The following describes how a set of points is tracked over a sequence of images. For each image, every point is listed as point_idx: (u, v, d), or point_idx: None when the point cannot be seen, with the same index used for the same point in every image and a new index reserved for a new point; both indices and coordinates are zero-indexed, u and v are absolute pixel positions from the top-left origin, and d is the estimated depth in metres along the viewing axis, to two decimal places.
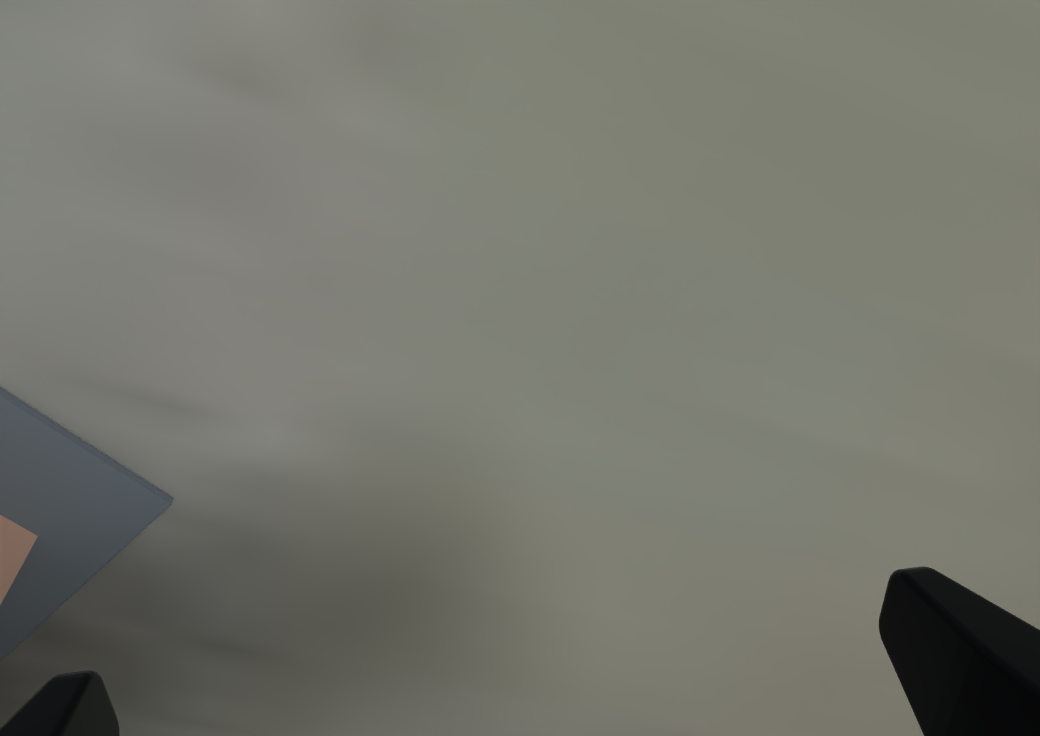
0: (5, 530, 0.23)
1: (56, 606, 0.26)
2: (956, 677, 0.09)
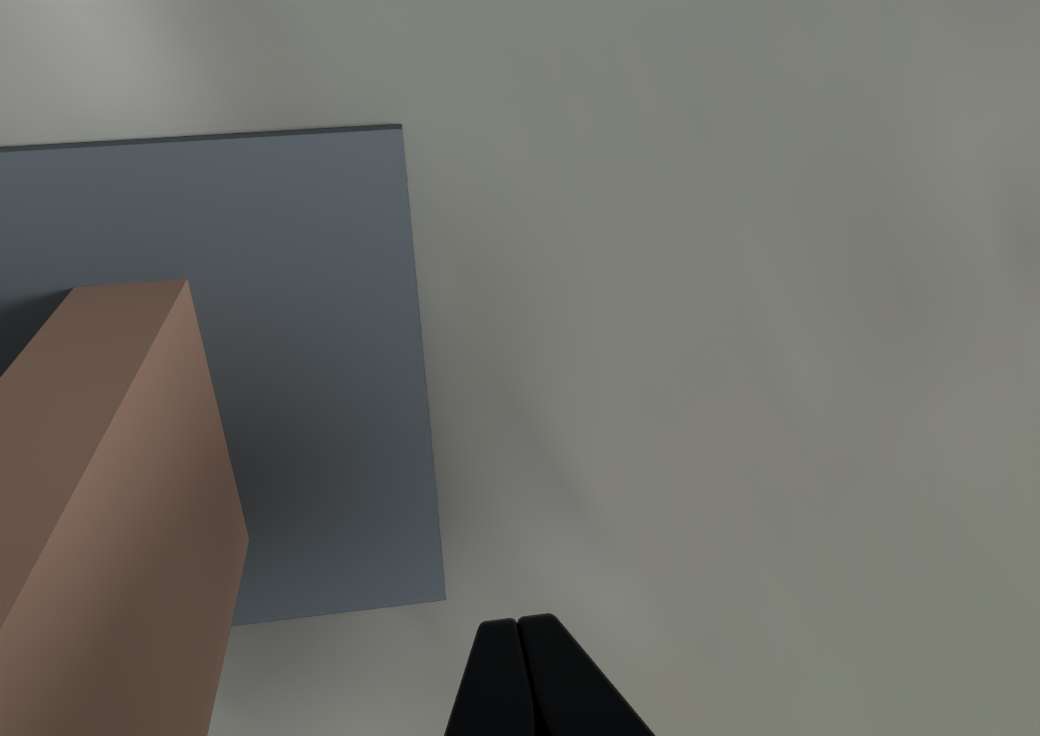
0: (236, 517, 0.14)
1: None
2: None
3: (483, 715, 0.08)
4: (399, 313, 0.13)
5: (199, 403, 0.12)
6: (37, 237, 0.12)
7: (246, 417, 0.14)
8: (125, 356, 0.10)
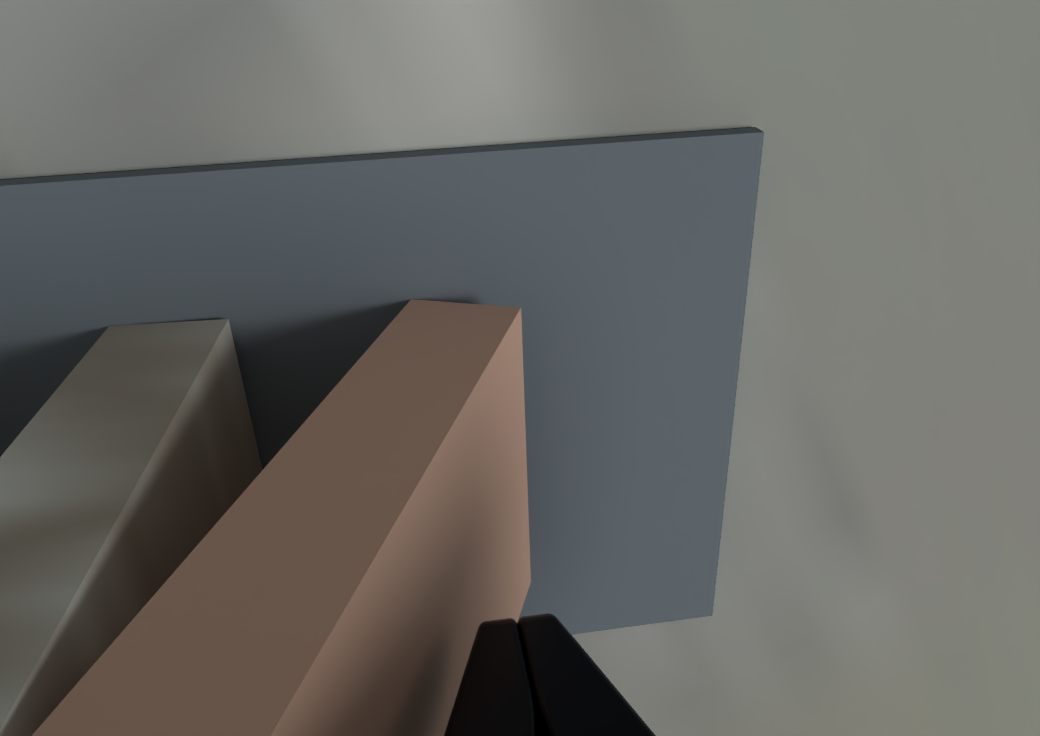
0: (523, 560, 0.13)
1: None
2: None
3: (483, 715, 0.08)
4: (724, 323, 0.13)
5: (509, 442, 0.11)
6: (385, 248, 0.11)
7: (554, 431, 0.13)
8: (446, 394, 0.09)
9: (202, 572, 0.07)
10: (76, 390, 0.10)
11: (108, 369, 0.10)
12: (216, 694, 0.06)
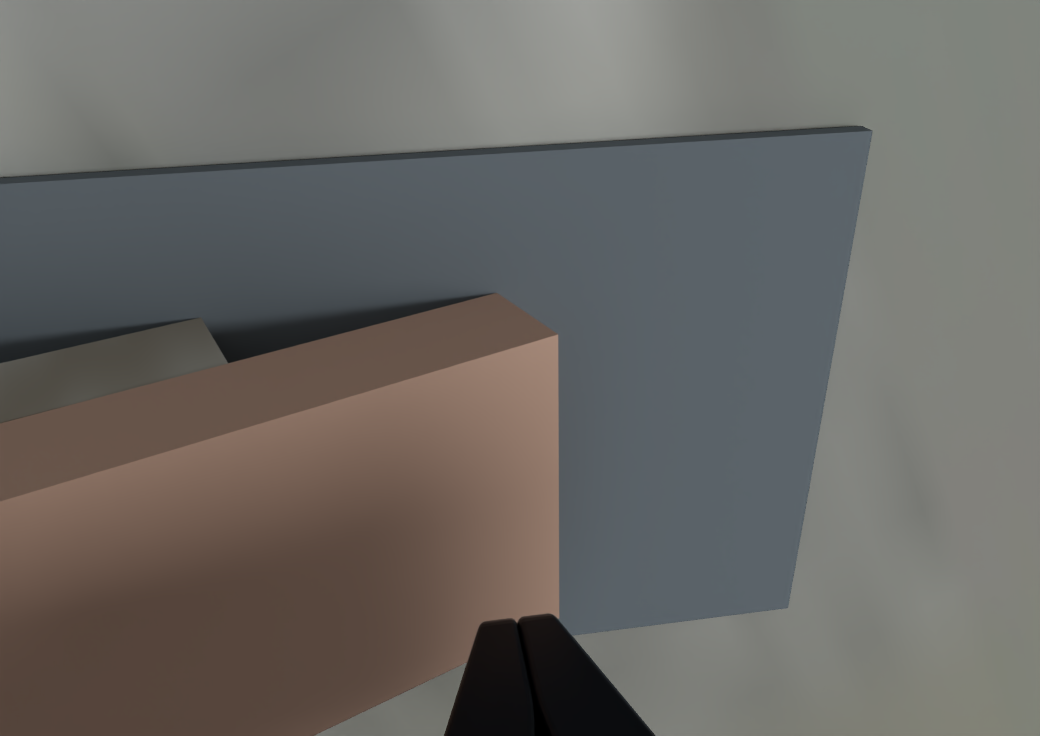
0: (535, 588, 0.13)
1: None
2: None
3: (483, 715, 0.08)
4: (820, 318, 0.13)
5: (505, 461, 0.11)
6: (501, 241, 0.12)
7: (649, 423, 0.13)
8: (373, 377, 0.10)
9: (72, 413, 0.09)
10: (60, 357, 0.11)
11: (103, 354, 0.11)
12: None
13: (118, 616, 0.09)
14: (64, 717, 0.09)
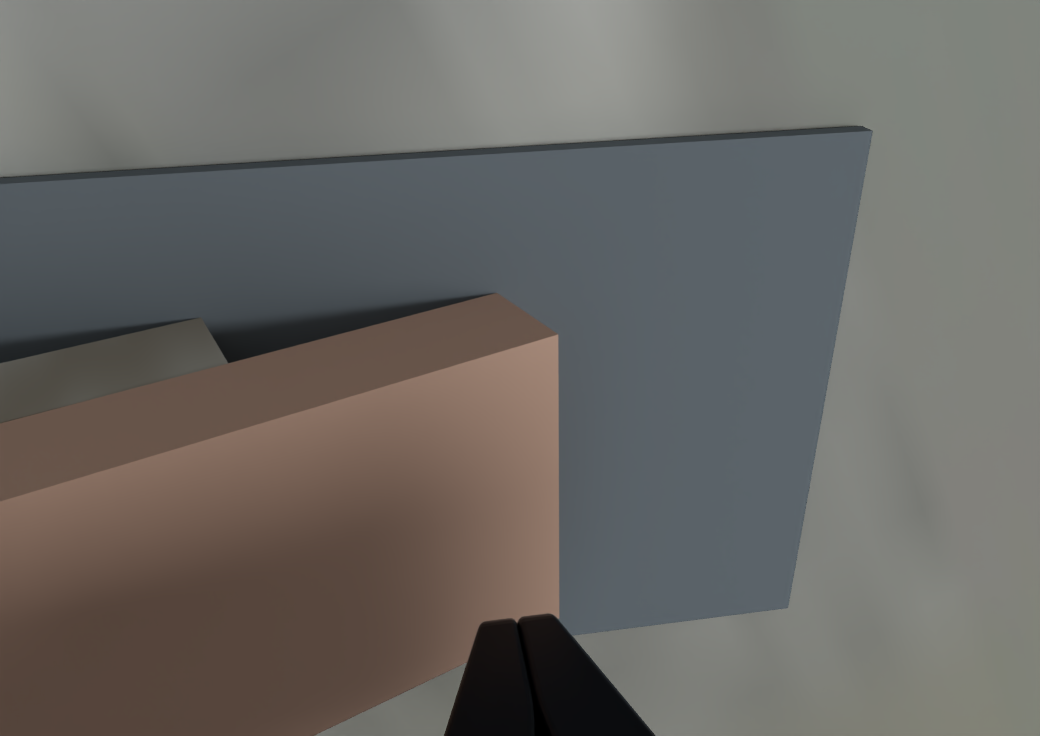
0: (535, 588, 0.13)
1: None
2: None
3: (483, 715, 0.08)
4: (820, 318, 0.13)
5: (505, 461, 0.11)
6: (501, 241, 0.12)
7: (650, 423, 0.13)
8: (373, 377, 0.10)
9: (73, 413, 0.09)
10: (60, 357, 0.11)
11: (103, 354, 0.11)
12: None
13: (118, 616, 0.09)
14: (65, 717, 0.09)
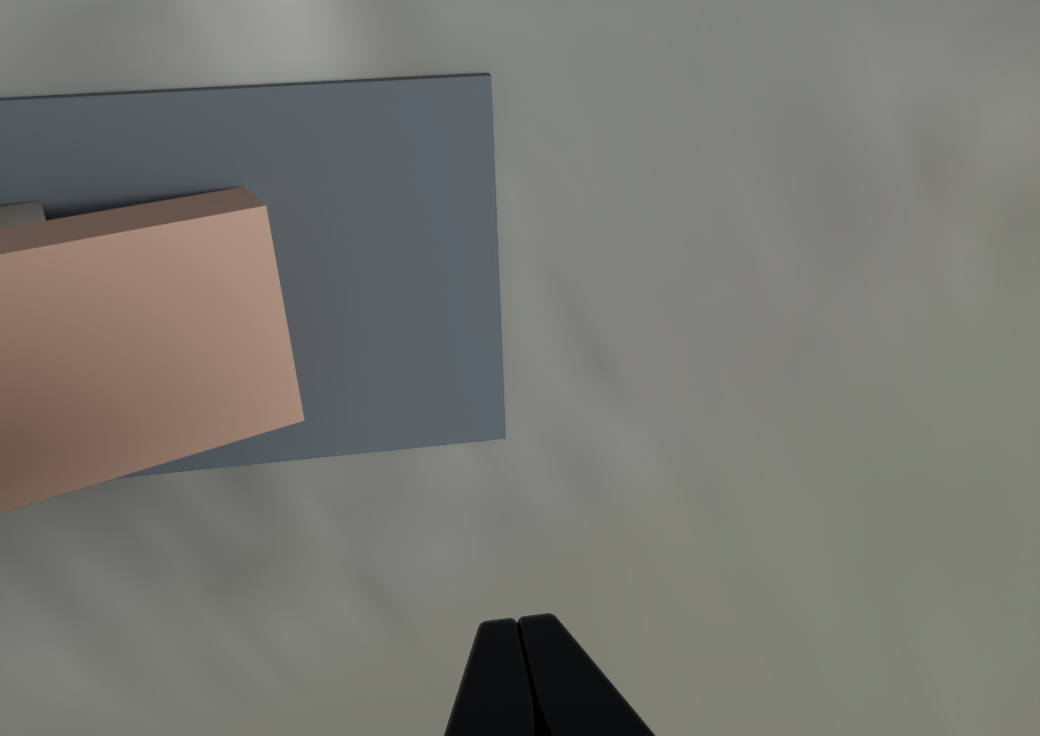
0: (279, 393, 0.18)
1: (295, 457, 0.21)
2: None
3: (483, 715, 0.08)
4: (482, 209, 0.19)
5: (238, 292, 0.17)
6: (242, 149, 0.17)
7: (371, 286, 0.19)
8: (133, 225, 0.16)
9: None
10: None
11: None
12: None
13: None
14: None
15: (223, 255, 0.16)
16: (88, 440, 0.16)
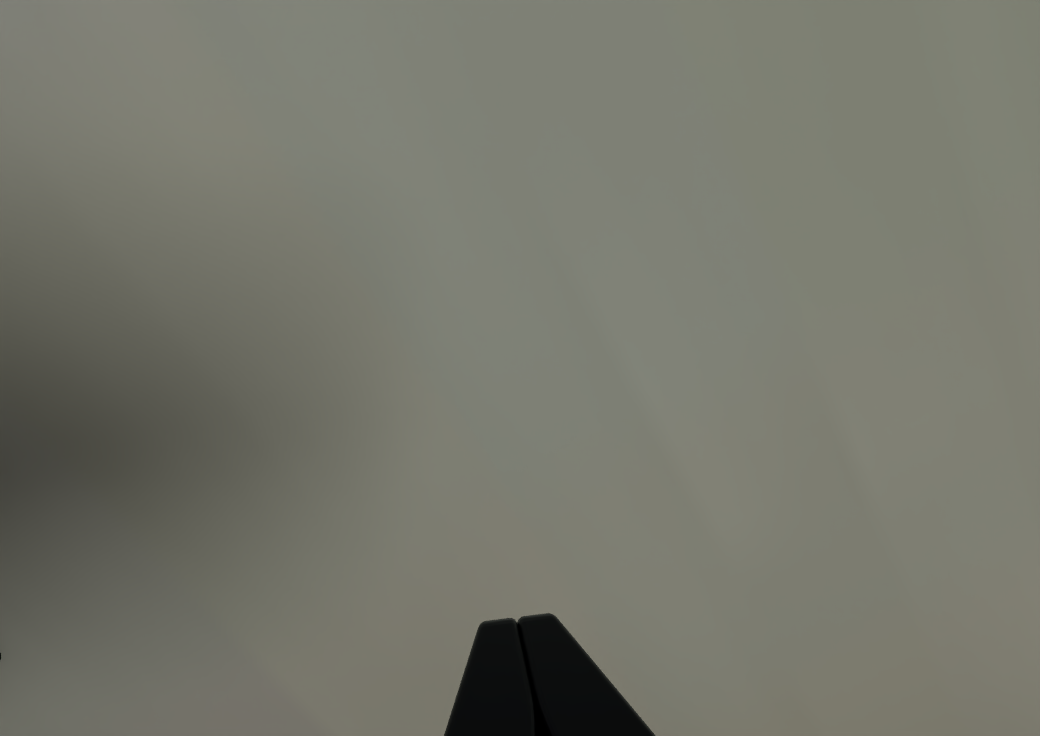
0: None
1: None
2: None
3: (483, 715, 0.08)
4: None
5: None
6: None
7: None
8: None
9: None
10: None
11: None
12: None
13: None
14: None
15: None
16: None
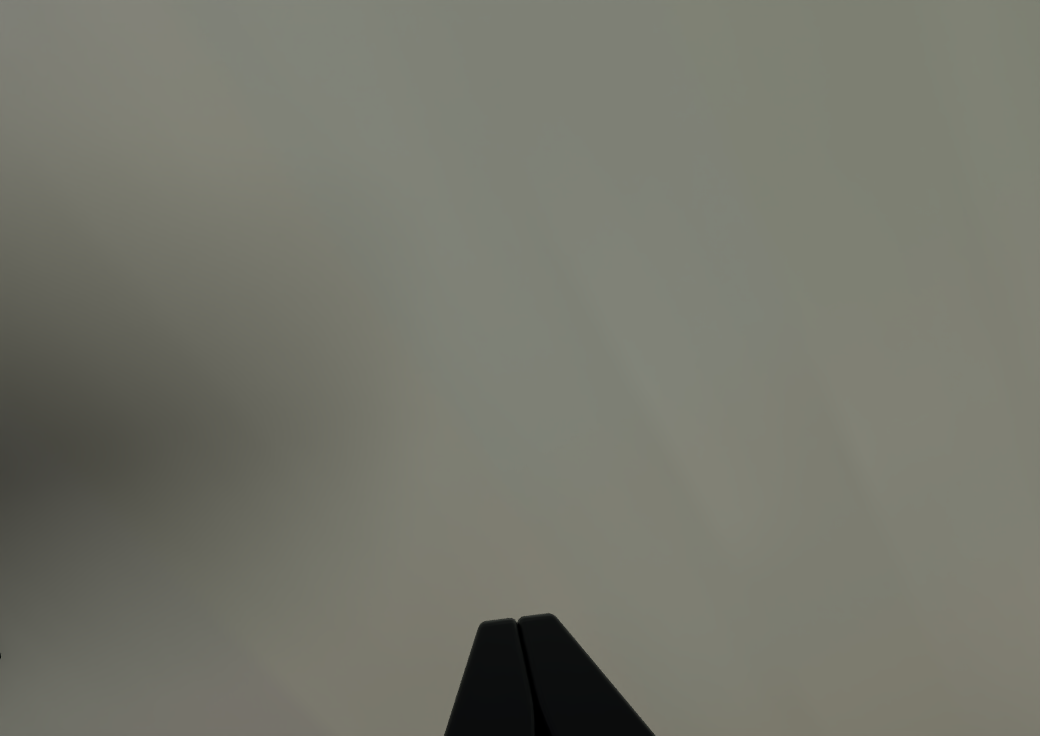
0: None
1: None
2: None
3: (483, 715, 0.08)
4: None
5: None
6: None
7: None
8: None
9: None
10: None
11: None
12: None
13: None
14: None
15: None
16: None
